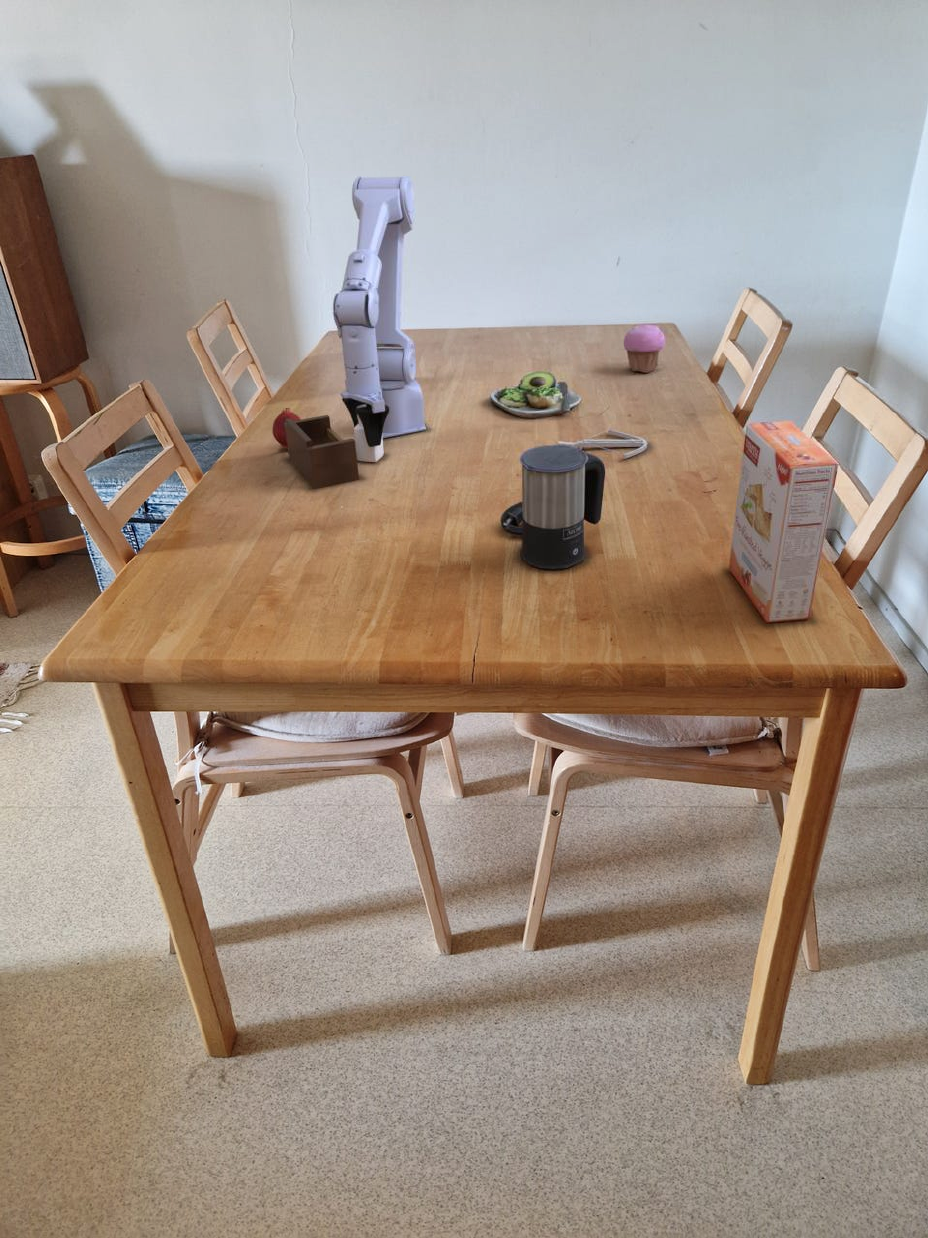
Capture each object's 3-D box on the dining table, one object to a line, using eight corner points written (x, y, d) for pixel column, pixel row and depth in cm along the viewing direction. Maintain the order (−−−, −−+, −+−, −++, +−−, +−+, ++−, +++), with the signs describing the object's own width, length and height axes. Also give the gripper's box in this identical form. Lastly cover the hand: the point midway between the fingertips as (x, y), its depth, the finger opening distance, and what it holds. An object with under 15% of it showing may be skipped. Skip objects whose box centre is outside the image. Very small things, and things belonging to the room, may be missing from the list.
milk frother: (566, 577, 121) (569, 475, 113) (467, 551, 129) (464, 454, 121) (610, 535, 131) (615, 438, 124) (516, 514, 139) (515, 421, 131)
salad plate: (603, 412, 177) (604, 389, 174) (522, 427, 171) (522, 404, 169) (557, 386, 192) (557, 364, 190) (481, 399, 186) (480, 377, 184)
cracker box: (724, 570, 121) (744, 421, 110) (768, 566, 122) (792, 418, 110) (763, 625, 109) (789, 464, 98) (811, 621, 110) (842, 460, 99)
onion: (300, 455, 163) (294, 413, 159) (270, 454, 164) (264, 412, 160) (311, 444, 168) (305, 402, 164) (282, 443, 169) (276, 401, 165)
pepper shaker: (385, 455, 162) (380, 404, 157) (376, 463, 158) (371, 411, 153) (365, 453, 163) (359, 402, 158) (355, 461, 160) (350, 410, 155)
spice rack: (331, 451, 164) (326, 409, 160) (359, 479, 153) (354, 434, 149) (289, 459, 162) (283, 417, 157) (314, 488, 150) (308, 443, 146)
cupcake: (668, 368, 200) (672, 322, 195) (653, 378, 194) (657, 331, 189) (631, 363, 204) (634, 318, 199) (615, 373, 198) (618, 327, 193)
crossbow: (637, 437, 167) (638, 426, 166) (654, 463, 156) (655, 451, 155) (552, 437, 165) (553, 426, 164) (563, 463, 155) (564, 451, 154)
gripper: (325, 357, 156) (334, 432, 163) (353, 378, 145) (361, 457, 152) (363, 351, 158) (370, 425, 166) (393, 371, 147) (399, 450, 154)
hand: (368, 440), depth 159 cm, fingers closed on pepper shaker, 5 cm apart
